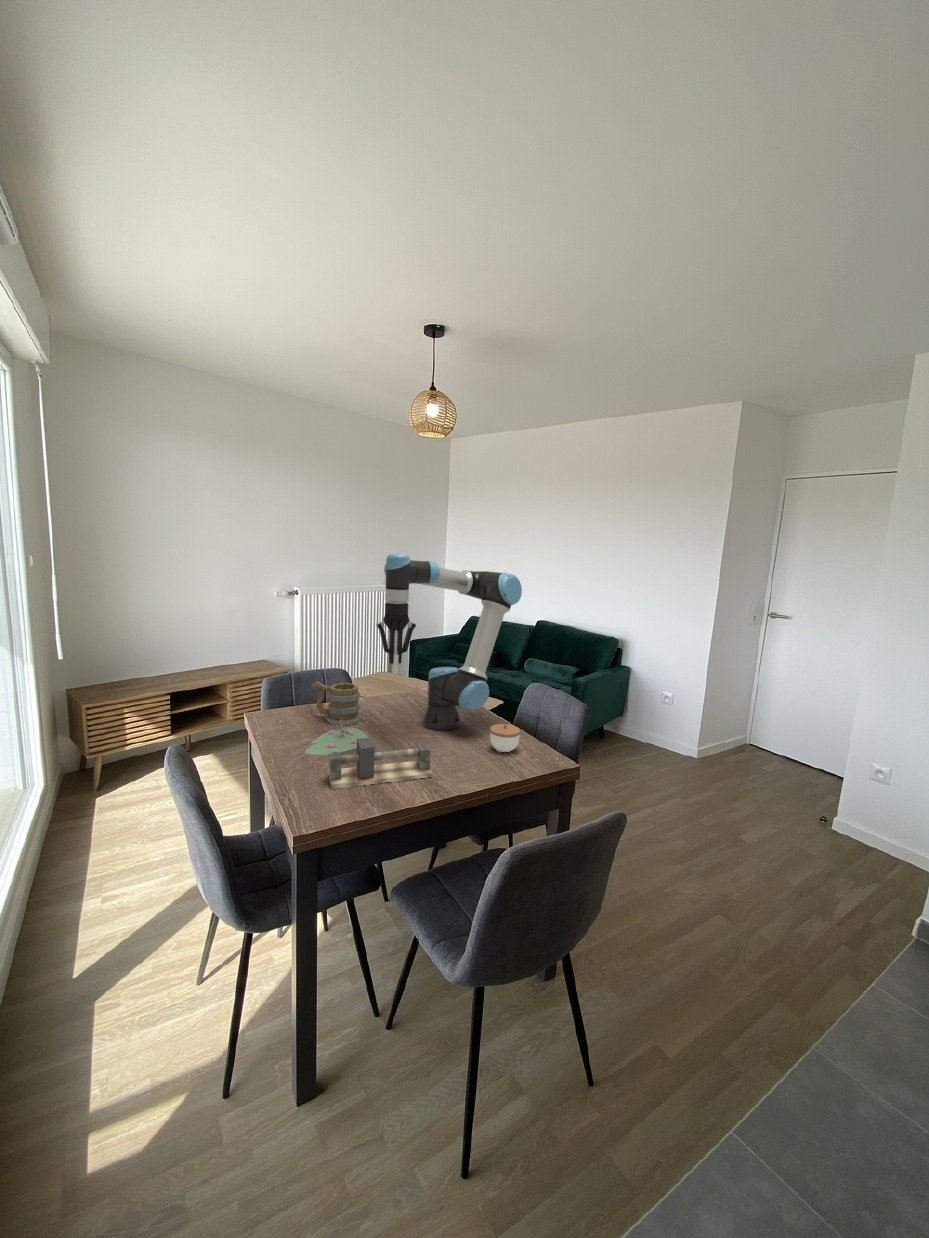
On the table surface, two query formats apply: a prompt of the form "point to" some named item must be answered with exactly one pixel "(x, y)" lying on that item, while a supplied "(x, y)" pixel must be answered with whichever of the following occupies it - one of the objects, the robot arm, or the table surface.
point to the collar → (365, 757)
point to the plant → (336, 741)
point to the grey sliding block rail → (380, 768)
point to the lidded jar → (504, 737)
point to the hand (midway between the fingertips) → (394, 673)
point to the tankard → (340, 703)
